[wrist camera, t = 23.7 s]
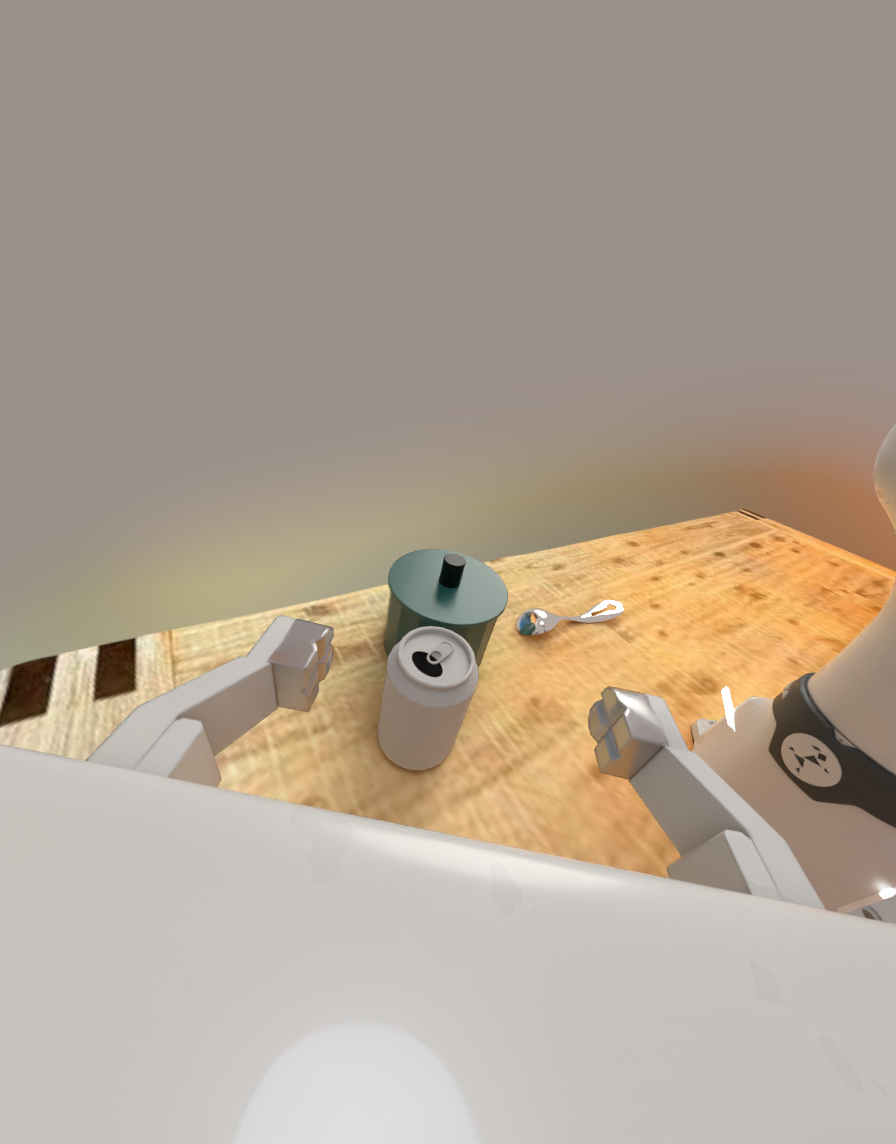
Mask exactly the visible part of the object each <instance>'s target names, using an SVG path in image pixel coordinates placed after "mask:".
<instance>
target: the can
mask: <svg viewBox="0 0 896 1144" xmlns="http://www.w3.org/2000/svg"><path fill="white" fill-rule="evenodd" d="M478 677H479V675H478V668H477V664H476V662H475V656H474V652H473V650H472V648H471V647H470V645H469V644H468V643H467V642H466V641H465V639H464V638H463V637H461V636H460V635H458V634H456V633H455V632H453V631H451V630H448V629H445V628H442V627H434V626H428V627H420V628H417V629H415V630H412V631H410V632H409V633H408V634H406V635H405V636H404V637H403V638H402V640H401V641H400V642H399V643H398V644H396V645H395V646H394V648H393V649H392V651H391V653H390V654H389V657H388V663H387V670H386V677H385V683H384V690H383V697H382V703H381V710H380V717H379V724H378V731H377V735H378V739H379V744H380V747H381V748H382V750H383V752H384V753H385V755H386V756H387V757H388V758H389V759H390V760H391V761H392V762H394V763H395V764H396V765H398V766H400V767H403V768H405V769H408V770H420V771H422V770H426V769H429V768H433V767H435V766H437V765H438V764H440V763H441V762H442V761H444V760H445V759H446V757H447V756H448V755H449V753H450V752H451V750H452V748H453V745H454V743H455V740H456V738H457V735H458V732H459V730H460V727H461V725H462V722H463V720H464V717H465V714H466V712H467V709H468V707H469V704H470V701H471V699H472V696H473V694H474V691H475V689H476V685H477V681H478Z"/></svg>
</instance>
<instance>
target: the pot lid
mask: <svg viewBox="0 0 896 1144" xmlns="http://www.w3.org/2000/svg"><path fill="white" fill-rule="evenodd" d="M388 584H389V588H390V591H391V593H392V595H393V596H394V598H395V599H396V601H397V602H398V603H399V604H400V605H401V606H402V607H403V608H405V609H406V610H407V611H409V612H410V613H412V614H413V615H415V616H417V617H419V618H421V619H423V620H425V621H428V622H431V623H434V624H437V625H441V626H446V627H454V628H470V627H477V626H482V625H485V624H487V623H490V622H492V621H494V620H495V619H496V618H498V617H499V616H500V615H501V614H502V613H503V611H504V609H505V607H506V605H507V601H508V592H507V589H506V586H505V584H504V582H503V580H502V579H501V578H500V576H499V575H498V574H497V573H496V572H495V571H494V570H492V569H491V568H490V567H489V566H487V565H486V564H484V563H482V562H481V561H479V560H477V559H475V558H472V557H470V556H468V555H465V554H461V553H458V552H453V551H448V550H440V549H426V550H419V551H414V552H411V553H408V554H406V555H404V556H402V557H400V558H399V559H398V560H396V562H395V563H394V564H393V565H392V567H391V569H390V571H389V577H388Z"/></svg>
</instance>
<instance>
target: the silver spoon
mask: <svg viewBox="0 0 896 1144" xmlns="http://www.w3.org/2000/svg"><path fill="white" fill-rule="evenodd" d="M607 605H613V606H615V607H616V610H615V611H612V610H610V611H607V612H604V613H601V614H598V615H595V616H591V615H590V614H591V613H594V612H597V611H600V610H603V609H606V608H607ZM622 612H623V607H622V605H621V604H620V603H619V602H616V601H612V600H607V601H603V602H601V603H599V604H597V605H595V606H593V607H592V608H590V609H588V610H587V611H585V612H583V613H581V614H579V615H576V616H565V615H560V614H556V613H552V612H550V611H547V610H544V609H540V608H529V609H526V610H524V611H523V612H522V613H521V614H520V615H519V617H518V619H517V623H516V626H517V630H518V631H519V632H520V633H521V634H523V635H537V634H541V633H545V632H547V631H550V630H551V629H553V628H554V627H555V626H556V625H557V623H558V622H559V621H560V620H571V621H576V622H584V623H592V622H600V621H605V620H609V619H612V618H615V617H617V616H619V615H620V614H621V613H622Z"/></svg>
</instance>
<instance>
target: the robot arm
mask: <svg viewBox="0 0 896 1144" xmlns="http://www.w3.org/2000/svg"><path fill="white" fill-rule="evenodd" d="M874 485H875V491H876V494H877V496H878V499H879V501H880V503H881V504H882V506H883V508H884V509H885V511H886V512H887V514H888V516H889V519H890V521H891V523H892V525H893V528H894V532H895V535H896V424H895V425H894V426H893V428H892V429H891V430H890V432H889V433H888V435H887V436H886V438H885V440H884V442H883V443H882V445H881V447H880V449H879V452H878V455H877V458H876V461H875V467H874ZM333 637H334V632H333V628H332V627H329V626H325V625H321V624H317V623H313V622H309V621H305V620H300V619H295V618H291V617H287V616H282V615H280V616H279V617H277V618H275V620H274V621H273V622H272V624H271V625H270V626H269V627H268V629H267V630H266V631H265V633H264V634H263V635H262V636H261V638H260V639H259V640H258V642H257V643H256V644H255V646H254V647H253V648H252V649H251V651H250V652H249V653H248V655H247V656H246V657H238V658H236V659H234V660H232V661H230V662H227V663H225V664H223V665H221V666H219V667H217V668H215V669H213V670H211V671H209V672H207V673H205V674H203V675H201V676H199V677H197V678H195V679H193V680H190V681H188V682H186V683H184V684H182V685H180V686H178V687H176V688H174V689H172V690H170V691H168V692H166V693H164V694H162V695H160V696H158V697H156V698H154V699H151V700H149V701H147V702H145V703H143V704H141V705H139V706H137V707H136V708H135V709H134V710H133V712H132V713H131V714H130V715H129V716H128V717H127V718H126V719H125V720H124V721H123V722H122V723H121V724H120V725H119V726H118V727H117V728H116V729H115V730H114V731H113V732H112V733H111V734H110V735H109V736H108V737H107V739H106V740H105V741H104V742H103V743H102V744H101V745H100V746H99V747H98V748H97V749H96V750H95V751H94V752H93V753H92V754H91V755H90V756H89V757H88V758H87V759H86V760H85V761H83V760H78V759H73V758H68V757H63V756H58V755H53V754H48V753H43V752H38V751H33V750H28V749H23V748H18V747H13V746H8V745H3V744H0V1144H896V578H895V582H894V585H893V587H892V590H891V593H890V595H889V597H888V599H887V601H886V603H885V604H884V606H883V608H882V609H881V610H880V612H879V613H878V614H877V616H876V617H875V618H874V619H873V620H872V621H871V622H870V623H869V624H868V625H867V626H866V627H865V628H864V629H863V631H862V632H861V633H860V634H859V635H858V636H857V637H856V638H855V639H854V640H853V641H852V642H850V643H849V644H848V645H847V646H846V647H845V648H844V649H843V650H842V651H841V652H840V653H839V654H837V655H836V656H835V657H834V658H833V659H832V660H831V661H830V662H828V663H827V664H826V665H825V666H824V667H823V668H821V669H820V670H819V671H818V672H817V673H808V674H805V675H803V676H802V677H801V678H799V679H798V680H795V681H793V682H792V683H790V684H789V685H788V686H786V687H785V688H784V691H783V692H781V693H780V694H779V695H778V696H777V697H776V698H775V699H769V698H757V697H755V696H754V697H750V698H748V699H747V700H745V701H744V702H743V703H741V704H740V705H738V706H737V707H736V708H734V709H733V706H732V701H731V696H730V692H729V688H728V687H725V688H724V689H723V690H722V696H723V701H724V707H725V712H726V715H725V716H724V717H722V718H721V719H720V720H718V721H714V720H707V719H698V720H697V721H695V722H694V723H692V734H693V738H694V746H693V749H692V751H689V749H688V747H687V745H686V743H685V741H684V739H683V737H682V735H681V733H680V731H679V729H678V727H677V725H676V723H675V721H674V719H673V717H672V714H671V712H670V710H669V708H668V706H667V704H666V702H665V701H664V700H663V699H662V698H661V697H659V696H654V695H649V694H645V693H640V692H635V691H630V690H626V689H621V688H616V687H611V686H609V687H607V688H605V689H604V691H603V692H602V693H601V695H602V698H603V699H602V700H600V701H598V702H595V703H594V704H593V706H592V708H591V709H590V713H589V718H588V724H589V730H590V734H591V736H592V737H593V738H594V739H595V741H596V742H597V745H596V747H595V749H594V750H595V754H596V758H597V762H598V766H599V770H600V773H603V774H607V775H611V776H616V777H620V778H624V779H628V780H630V781H629V782H630V783H631V785H632V786H633V788H634V789H635V790H636V792H637V793H638V795H639V796H640V798H641V799H642V800H643V802H644V803H645V805H646V806H647V807H648V809H649V810H650V812H651V813H652V815H653V816H654V817H655V819H656V820H657V822H658V823H659V825H660V826H661V827H662V829H663V830H664V832H665V833H666V835H667V836H668V837H669V839H670V840H671V842H672V843H673V845H674V846H675V847H676V849H677V850H678V852H679V853H680V855H681V856H682V857H680V858H679V859H677V860H675V861H674V862H672V863H670V864H669V866H668V867H667V872H668V875H669V878H665V877H660V876H655V875H650V874H645V873H640V872H635V871H630V870H625V869H620V868H615V867H610V866H605V865H600V864H595V863H590V862H585V861H580V860H575V859H571V858H566V857H561V856H556V855H551V854H546V853H541V852H536V851H531V850H526V849H521V848H516V847H511V846H506V845H501V844H496V843H491V842H486V841H481V840H476V839H471V838H466V837H461V836H456V835H451V834H446V833H441V832H436V831H431V830H427V829H422V828H417V827H412V826H407V825H402V824H397V823H392V822H387V821H382V820H377V819H372V818H367V817H362V816H357V815H352V814H347V813H342V812H337V811H332V810H327V809H322V808H317V807H312V806H307V805H302V804H297V803H292V802H287V801H282V800H277V799H272V798H267V797H262V796H257V795H252V794H247V793H242V792H237V791H232V790H227V789H222V788H217V787H218V785H219V783H220V782H221V780H222V779H221V774H220V771H219V769H218V766H217V763H216V760H215V758H214V756H215V755H217V754H218V753H219V752H221V751H222V750H223V749H225V748H226V747H227V746H229V745H230V744H231V743H233V742H234V741H235V740H237V739H238V738H239V737H241V736H242V735H243V734H245V733H246V732H247V731H249V730H250V729H251V728H253V727H254V726H255V725H257V724H258V723H259V722H261V721H262V720H263V719H264V718H266V717H267V716H268V715H270V714H271V713H272V712H274V711H275V710H276V709H278V707H282V708H288V709H294V710H299V711H305V712H309V710H310V708H311V706H312V704H313V702H314V700H315V698H316V696H317V694H318V692H319V682H321V681H322V680H324V679H325V678H326V676H327V673H328V671H329V669H330V665H331V662H332V658H333V646H332V645H331V641H332V639H333Z"/></svg>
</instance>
